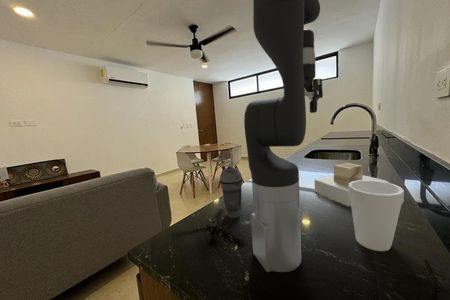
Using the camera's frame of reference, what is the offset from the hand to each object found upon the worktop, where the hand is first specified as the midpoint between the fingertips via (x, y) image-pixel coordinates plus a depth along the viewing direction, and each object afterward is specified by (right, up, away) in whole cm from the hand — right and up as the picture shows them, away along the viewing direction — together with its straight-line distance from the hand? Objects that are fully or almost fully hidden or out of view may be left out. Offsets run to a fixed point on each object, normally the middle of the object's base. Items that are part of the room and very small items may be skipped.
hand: (304, 113), depth 68 cm
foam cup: (+5, -34, -24) cm, 42 cm away
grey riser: (+17, -29, +2) cm, 34 cm away
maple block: (+15, -24, -1) cm, 29 cm away
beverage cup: (-25, -34, -6) cm, 43 cm away
